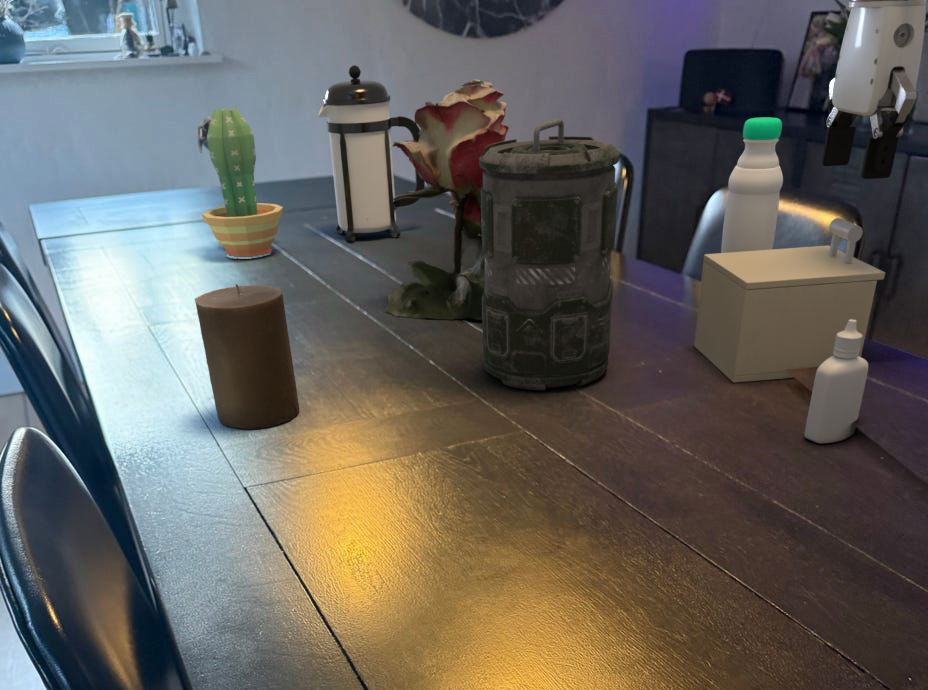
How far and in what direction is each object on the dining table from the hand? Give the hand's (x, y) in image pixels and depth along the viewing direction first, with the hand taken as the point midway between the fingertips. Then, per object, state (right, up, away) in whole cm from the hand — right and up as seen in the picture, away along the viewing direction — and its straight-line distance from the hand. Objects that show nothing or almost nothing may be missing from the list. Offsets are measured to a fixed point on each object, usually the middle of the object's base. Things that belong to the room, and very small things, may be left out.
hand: (854, 171), depth 106 cm
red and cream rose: (-40, 0, +41) cm, 58 cm away
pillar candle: (-69, -27, +4) cm, 74 cm away
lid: (-5, -9, +6) cm, 12 cm away
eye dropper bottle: (-6, -33, -9) cm, 34 cm away
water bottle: (-4, -7, +29) cm, 30 cm away
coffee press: (-62, +30, +86) cm, 110 cm away
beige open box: (-5, -18, +12) cm, 22 cm away
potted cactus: (-86, +22, +75) cm, 116 cm away
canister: (-34, -20, +12) cm, 41 cm away
